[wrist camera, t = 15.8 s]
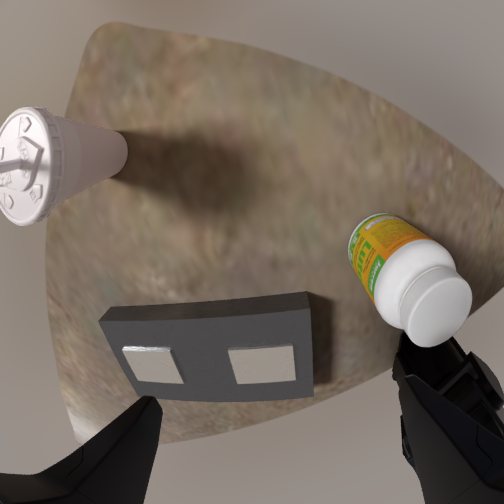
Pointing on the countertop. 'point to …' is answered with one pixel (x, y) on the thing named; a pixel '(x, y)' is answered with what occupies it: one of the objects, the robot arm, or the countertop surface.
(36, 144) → the smoothie
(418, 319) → the supplement bottle
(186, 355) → the label box
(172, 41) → the countertop surface
